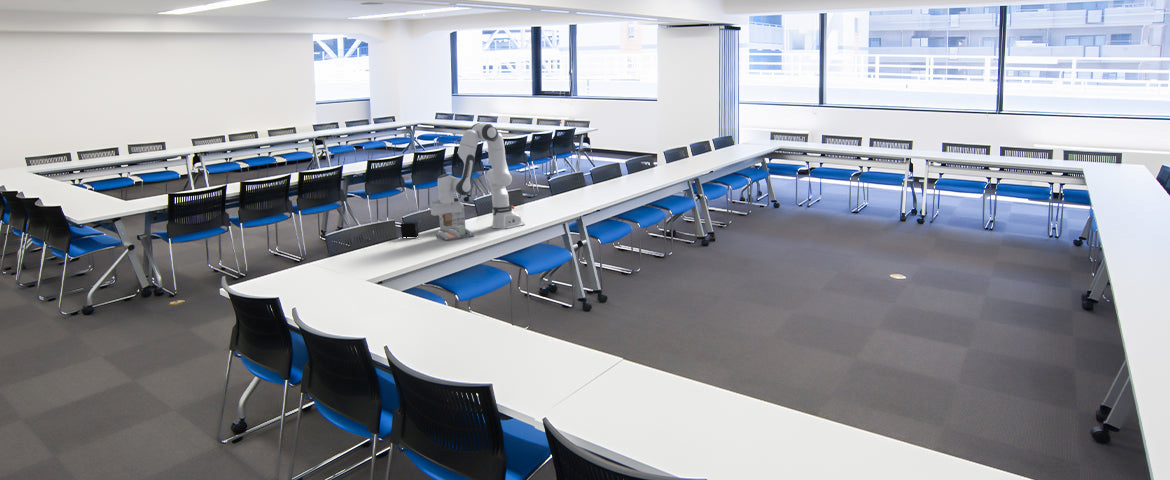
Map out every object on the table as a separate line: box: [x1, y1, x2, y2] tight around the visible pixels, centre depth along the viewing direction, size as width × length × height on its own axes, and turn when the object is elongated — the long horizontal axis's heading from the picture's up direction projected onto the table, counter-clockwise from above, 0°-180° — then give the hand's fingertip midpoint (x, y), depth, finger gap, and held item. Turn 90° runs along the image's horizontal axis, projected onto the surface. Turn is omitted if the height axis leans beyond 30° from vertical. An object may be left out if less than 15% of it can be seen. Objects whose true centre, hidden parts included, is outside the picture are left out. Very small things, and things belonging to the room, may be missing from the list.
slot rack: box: [436, 225, 474, 242], centre depth 493 cm, size 19×18×6 cm
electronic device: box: [400, 221, 420, 239], centre depth 494 cm, size 4×10×10 cm, turn 78°
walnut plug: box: [443, 213, 452, 227], centre depth 489 cm, size 6×4×8 cm, turn 29°
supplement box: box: [438, 202, 467, 233], centre depth 512 cm, size 13×13×18 cm
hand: (447, 220), depth 489 cm, fingers closed on walnut plug, 4 cm apart
